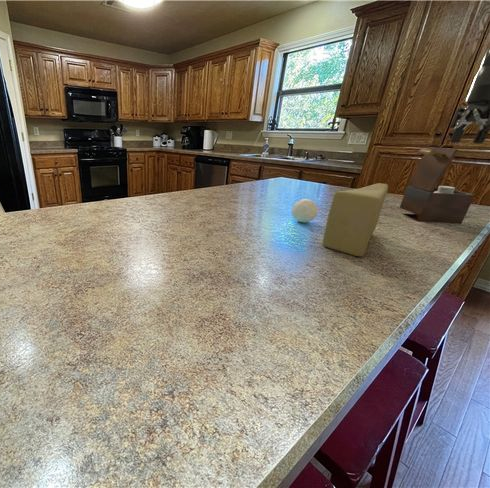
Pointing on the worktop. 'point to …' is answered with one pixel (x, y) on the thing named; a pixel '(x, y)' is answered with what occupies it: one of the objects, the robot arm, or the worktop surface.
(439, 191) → the supplement bottle
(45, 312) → the worktop surface
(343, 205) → the cheese
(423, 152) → the lid
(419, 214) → the chest
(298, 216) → the ball
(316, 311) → the worktop surface
